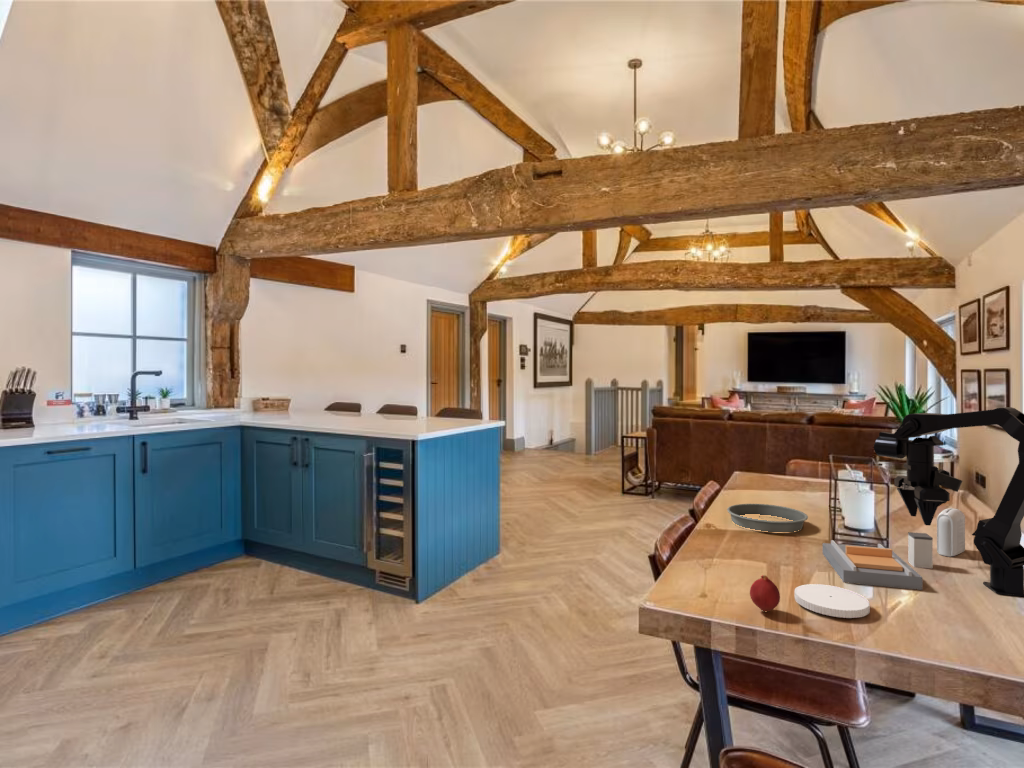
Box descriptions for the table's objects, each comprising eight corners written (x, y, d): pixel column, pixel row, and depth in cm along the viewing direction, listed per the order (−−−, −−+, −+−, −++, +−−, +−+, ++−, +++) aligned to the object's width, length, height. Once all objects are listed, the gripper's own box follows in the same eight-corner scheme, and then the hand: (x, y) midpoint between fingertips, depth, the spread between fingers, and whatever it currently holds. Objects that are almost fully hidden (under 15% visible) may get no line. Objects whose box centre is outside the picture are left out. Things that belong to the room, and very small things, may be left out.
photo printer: (948, 547, 155) (948, 504, 154) (967, 551, 151) (967, 507, 151) (934, 554, 149) (934, 509, 149) (953, 558, 145) (953, 513, 145)
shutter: (902, 571, 128) (902, 559, 128) (854, 567, 131) (854, 555, 131) (890, 560, 136) (890, 548, 135) (845, 556, 139) (845, 545, 139)
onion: (754, 603, 118) (754, 567, 118) (783, 610, 115) (782, 573, 114) (746, 612, 114) (746, 575, 114) (776, 620, 110) (776, 581, 110)
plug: (932, 568, 138) (932, 537, 138) (914, 567, 139) (914, 536, 139) (926, 563, 142) (926, 533, 142) (908, 562, 143) (908, 532, 143)
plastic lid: (781, 596, 123) (781, 585, 123) (839, 593, 124) (839, 582, 124) (820, 624, 109) (820, 611, 109) (886, 621, 110) (886, 609, 110)
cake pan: (815, 538, 165) (815, 524, 165) (729, 532, 173) (729, 518, 173) (800, 518, 188) (800, 505, 188) (725, 513, 196) (725, 501, 196)
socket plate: (922, 590, 124) (922, 572, 124) (843, 582, 129) (843, 566, 129) (889, 559, 145) (889, 544, 145) (822, 553, 150) (822, 539, 150)
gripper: (975, 468, 129) (975, 533, 129) (941, 457, 146) (941, 514, 147) (920, 466, 132) (920, 529, 132) (893, 455, 150) (893, 511, 150)
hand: (920, 520), depth 140 cm, fingers open, 9 cm apart
